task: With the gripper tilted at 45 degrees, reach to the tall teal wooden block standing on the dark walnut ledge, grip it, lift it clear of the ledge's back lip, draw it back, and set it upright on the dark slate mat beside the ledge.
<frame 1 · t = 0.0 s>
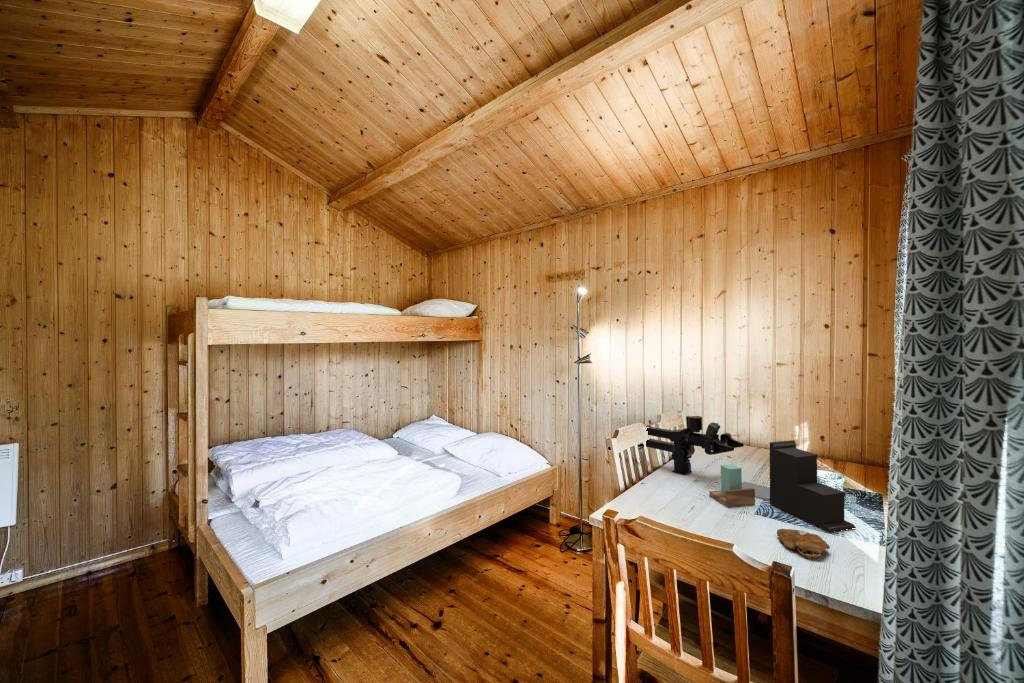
hand: (738, 447, 171), 17 cm above the table, tool horizontal, fingers open, 9 cm apart
bookend: (809, 516, 143), on the table
slate mat: (755, 490, 166), on the table
walnut ledge: (731, 500, 157), on the table
decorative rock: (804, 549, 122), on the table
teal block: (731, 495, 157), point 2 cm above the table, touching walnut ledge
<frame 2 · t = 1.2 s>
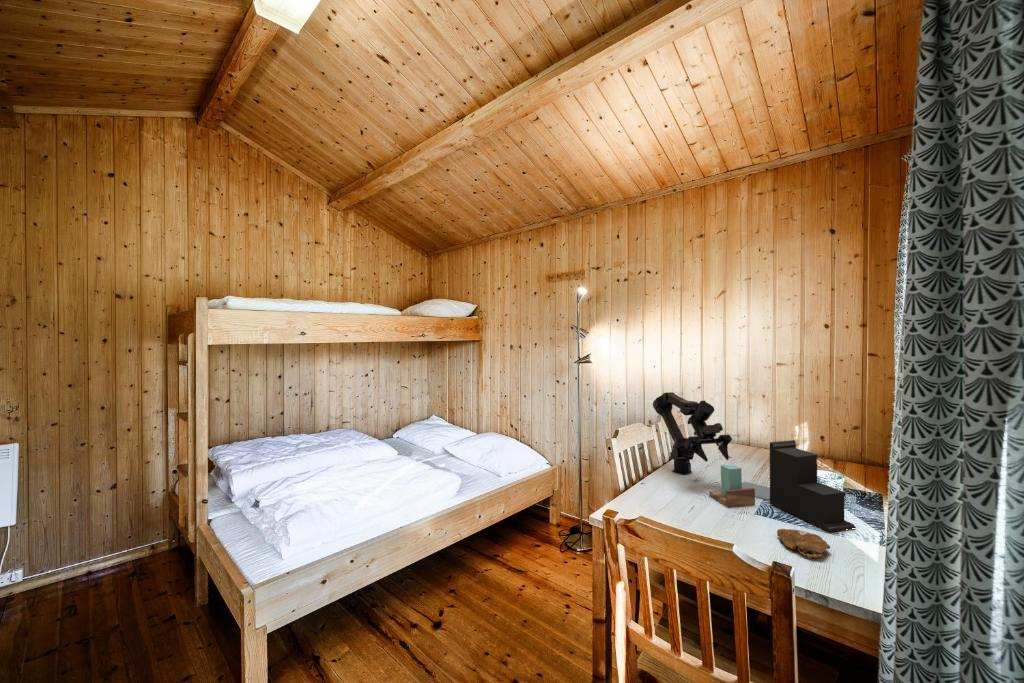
hand: (717, 460, 165), 13 cm above the table, tool tilted 45°, fingers open, 9 cm apart
nothing on the table moved.
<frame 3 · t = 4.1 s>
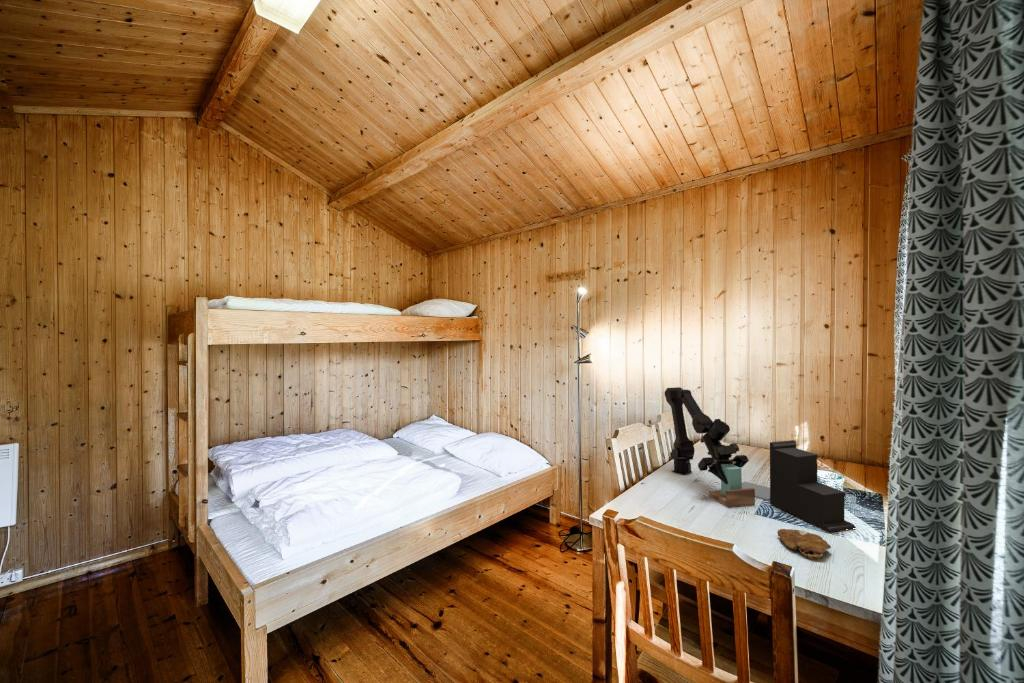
hand: (733, 483, 156), 7 cm above the table, tool tilted 45°, fingers closed on teal block, 5 cm apart
teal block: (731, 495, 157), point 2 cm above the table, touching gripper, walnut ledge
everything else where it was.
when the fingers open (7 cm above the table, at t = 9.9 s): teal block drops 1 cm, resting on slate mat.
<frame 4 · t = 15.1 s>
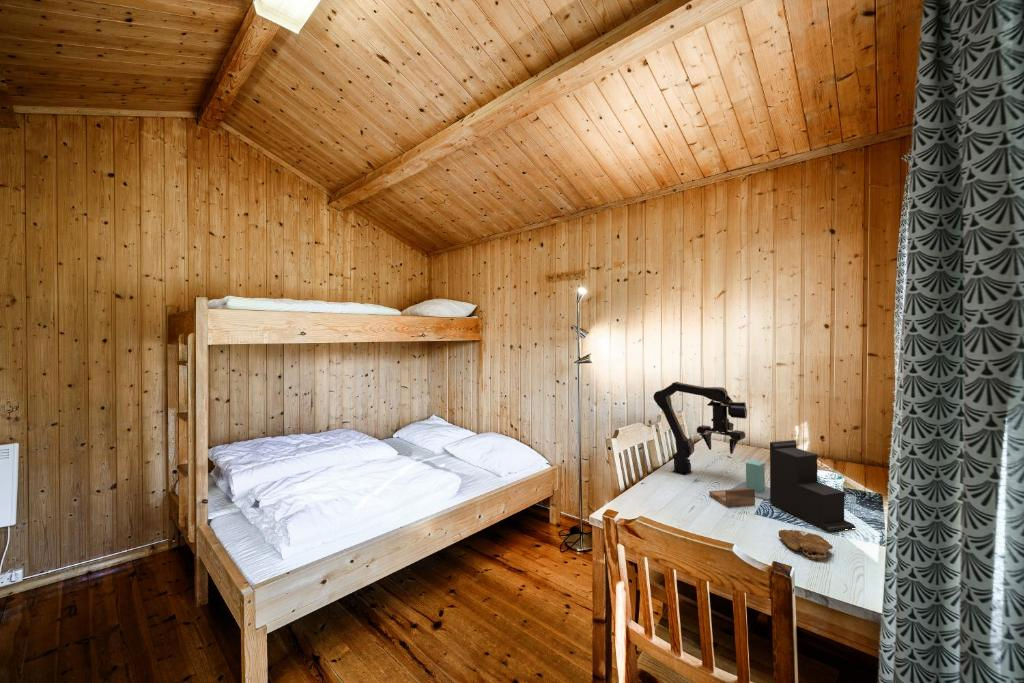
hand: (720, 451, 181), 12 cm above the table, tool pointing down, fingers open, 9 cm apart
teal block: (755, 489, 166), resting on slate mat
everything else where it was.
at the end: teal block inside the target area on the slate mat (0.0 cm from its centre), point 0.4 cm above the slate mat's base; teal block tilted 0°; the gripper is holding nothing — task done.
